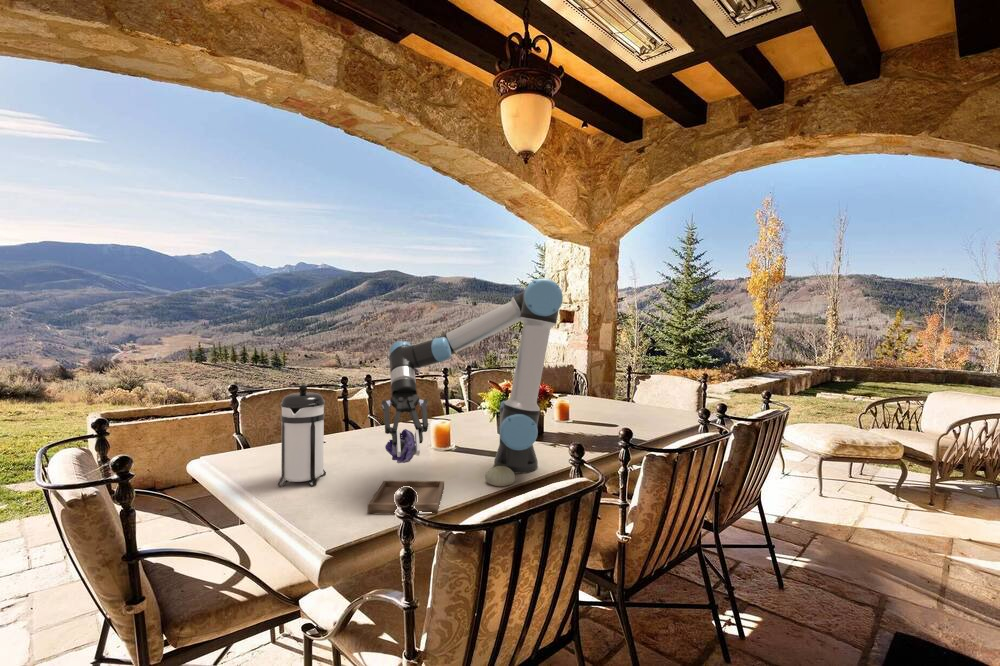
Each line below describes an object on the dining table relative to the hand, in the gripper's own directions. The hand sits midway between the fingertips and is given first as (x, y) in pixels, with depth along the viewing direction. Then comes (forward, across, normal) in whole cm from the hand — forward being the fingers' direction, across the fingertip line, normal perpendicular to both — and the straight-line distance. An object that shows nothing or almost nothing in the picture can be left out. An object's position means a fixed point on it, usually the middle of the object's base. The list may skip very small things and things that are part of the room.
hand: (408, 453), depth 124 cm
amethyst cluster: (-2, 0, -7) cm, 7 cm away
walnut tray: (+8, -1, -13) cm, 15 cm away
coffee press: (-11, +29, -32) cm, 44 cm away
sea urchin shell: (+3, -30, -18) cm, 35 cm away
